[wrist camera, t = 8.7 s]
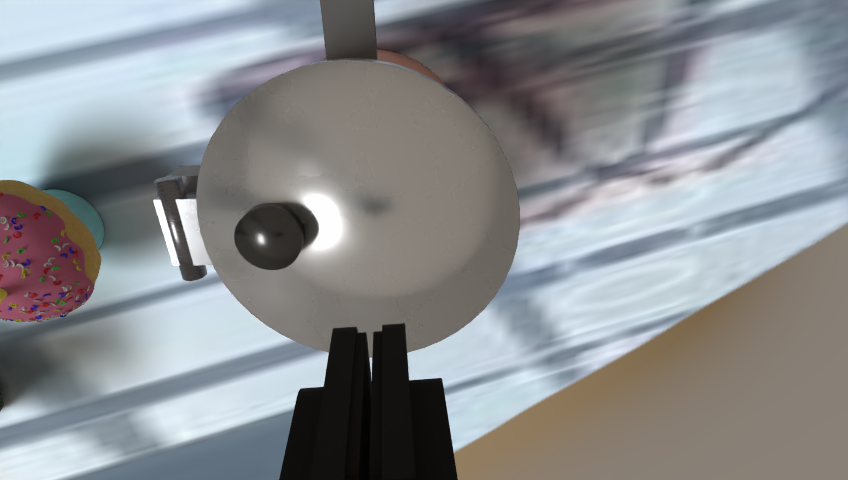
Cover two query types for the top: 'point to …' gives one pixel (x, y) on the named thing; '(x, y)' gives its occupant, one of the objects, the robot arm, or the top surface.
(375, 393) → the robot arm
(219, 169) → the lid
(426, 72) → the pot
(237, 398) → the top surface
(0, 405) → the character mug
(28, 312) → the cupcake
